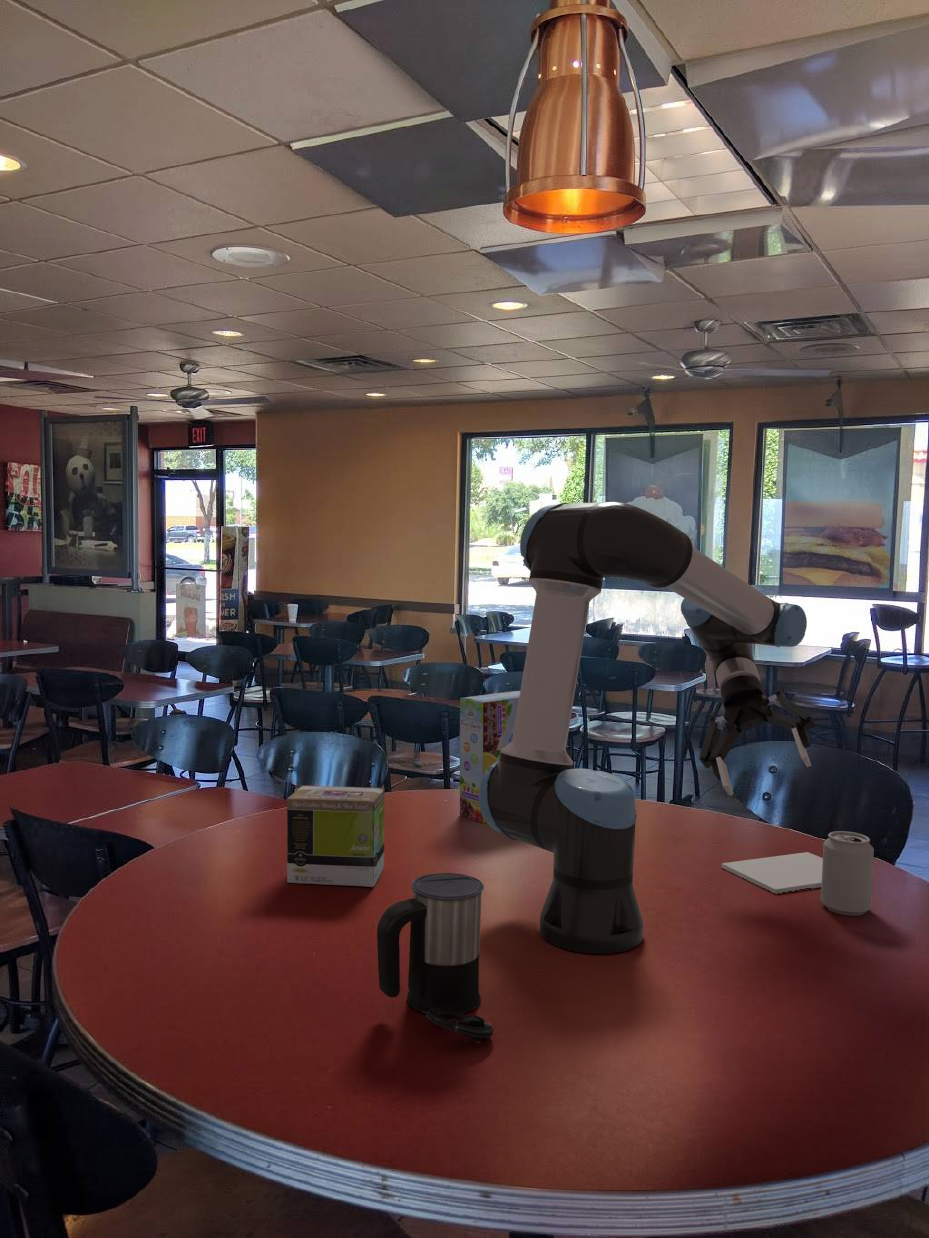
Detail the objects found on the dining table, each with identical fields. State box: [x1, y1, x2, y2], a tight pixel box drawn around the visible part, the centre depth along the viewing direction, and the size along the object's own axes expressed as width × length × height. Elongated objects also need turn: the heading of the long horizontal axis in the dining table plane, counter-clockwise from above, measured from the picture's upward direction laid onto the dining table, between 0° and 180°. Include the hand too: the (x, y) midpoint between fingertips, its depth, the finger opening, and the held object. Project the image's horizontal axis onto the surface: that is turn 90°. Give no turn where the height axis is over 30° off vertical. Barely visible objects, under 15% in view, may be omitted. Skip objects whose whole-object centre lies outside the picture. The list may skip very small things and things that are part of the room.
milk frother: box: [376, 872, 494, 1042], centre depth 114 cm, size 14×16×15 cm
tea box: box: [286, 785, 385, 888], centre depth 161 cm, size 15×10×15 cm
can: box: [820, 830, 875, 917], centre depth 152 cm, size 8×8×12 cm
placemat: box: [721, 851, 823, 895], centre depth 169 cm, size 20×14×1 cm
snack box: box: [459, 690, 520, 824], centre depth 204 cm, size 22×9×26 cm, turn 130°
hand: (766, 776), depth 157 cm, fingers open, 13 cm apart
